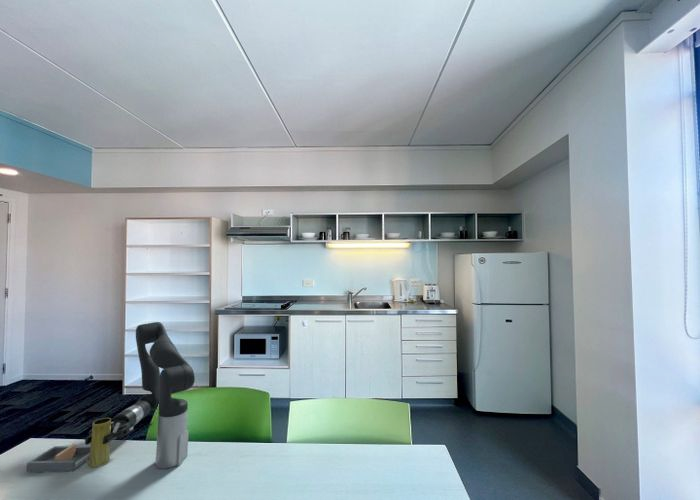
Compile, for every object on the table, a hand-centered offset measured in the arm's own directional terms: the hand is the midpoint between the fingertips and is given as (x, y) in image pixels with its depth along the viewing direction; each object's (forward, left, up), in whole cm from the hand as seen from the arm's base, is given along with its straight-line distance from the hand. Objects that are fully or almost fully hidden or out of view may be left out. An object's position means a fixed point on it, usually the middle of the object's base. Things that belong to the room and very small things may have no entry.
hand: (95, 441), depth 107 cm
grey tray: (+13, -3, -8) cm, 15 cm away
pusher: (+12, -3, -8) cm, 14 cm away
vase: (0, -3, -9) cm, 9 cm away
